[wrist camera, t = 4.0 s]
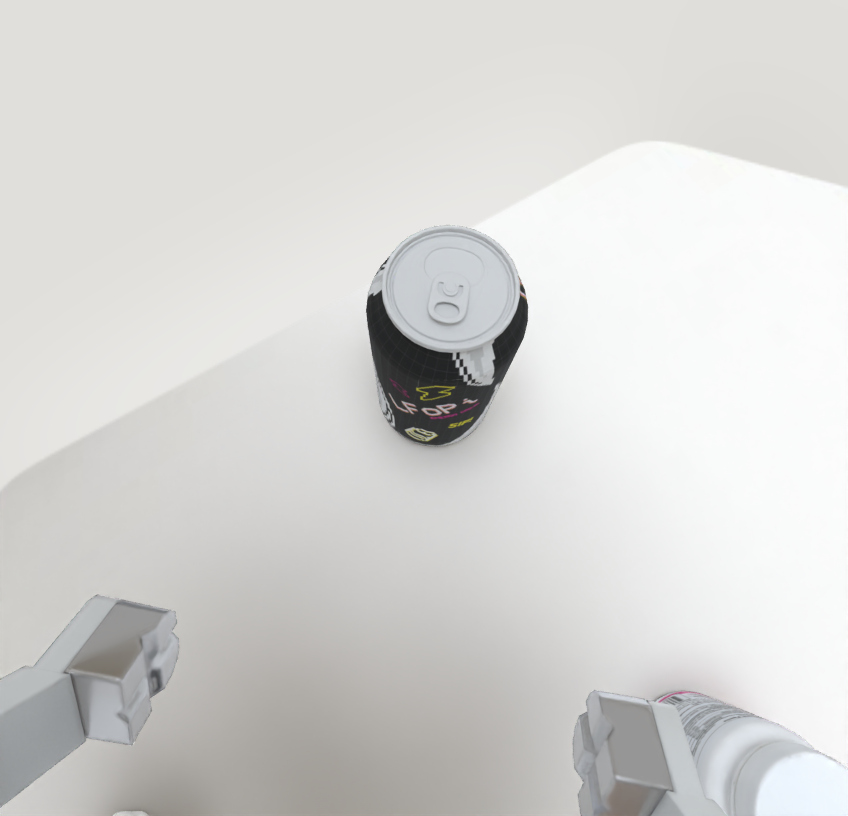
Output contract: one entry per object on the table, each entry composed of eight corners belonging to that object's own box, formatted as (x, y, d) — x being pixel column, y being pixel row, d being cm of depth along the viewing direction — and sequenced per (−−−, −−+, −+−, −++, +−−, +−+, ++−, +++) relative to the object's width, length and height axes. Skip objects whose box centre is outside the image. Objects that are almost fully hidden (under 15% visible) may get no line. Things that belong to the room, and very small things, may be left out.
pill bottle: (749, 806, 25) (915, 918, 17) (642, 810, 25) (758, 925, 17) (730, 687, 26) (875, 737, 18) (629, 690, 26) (729, 742, 18)
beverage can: (369, 439, 29) (345, 350, 17) (390, 337, 31) (380, 195, 19) (479, 458, 29) (529, 381, 17) (494, 355, 30) (548, 222, 19)
